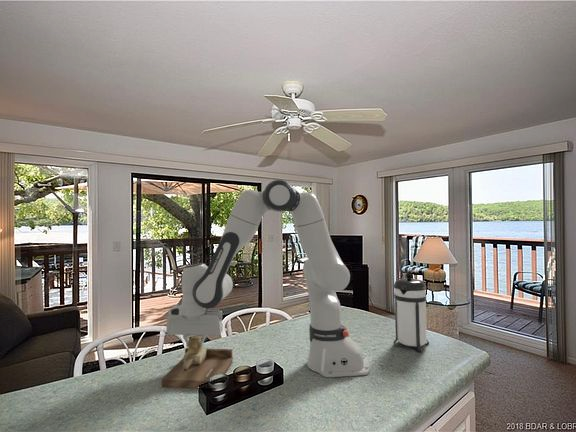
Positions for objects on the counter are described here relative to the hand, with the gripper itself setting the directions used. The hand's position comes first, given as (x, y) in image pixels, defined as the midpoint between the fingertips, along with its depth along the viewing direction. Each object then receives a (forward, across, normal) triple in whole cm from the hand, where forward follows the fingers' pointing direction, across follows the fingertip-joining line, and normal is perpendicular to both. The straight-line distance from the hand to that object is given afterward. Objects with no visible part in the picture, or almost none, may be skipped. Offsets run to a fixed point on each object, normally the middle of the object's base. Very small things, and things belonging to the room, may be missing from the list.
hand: (195, 346), depth 108 cm
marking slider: (+5, 0, +3) cm, 6 cm away
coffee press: (+8, -83, -27) cm, 88 cm away
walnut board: (+8, -3, +4) cm, 9 cm away
